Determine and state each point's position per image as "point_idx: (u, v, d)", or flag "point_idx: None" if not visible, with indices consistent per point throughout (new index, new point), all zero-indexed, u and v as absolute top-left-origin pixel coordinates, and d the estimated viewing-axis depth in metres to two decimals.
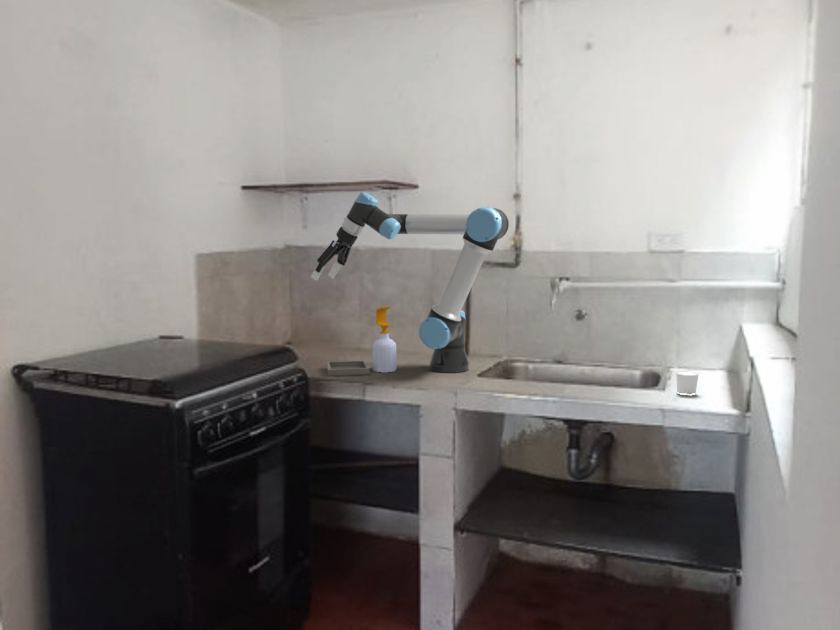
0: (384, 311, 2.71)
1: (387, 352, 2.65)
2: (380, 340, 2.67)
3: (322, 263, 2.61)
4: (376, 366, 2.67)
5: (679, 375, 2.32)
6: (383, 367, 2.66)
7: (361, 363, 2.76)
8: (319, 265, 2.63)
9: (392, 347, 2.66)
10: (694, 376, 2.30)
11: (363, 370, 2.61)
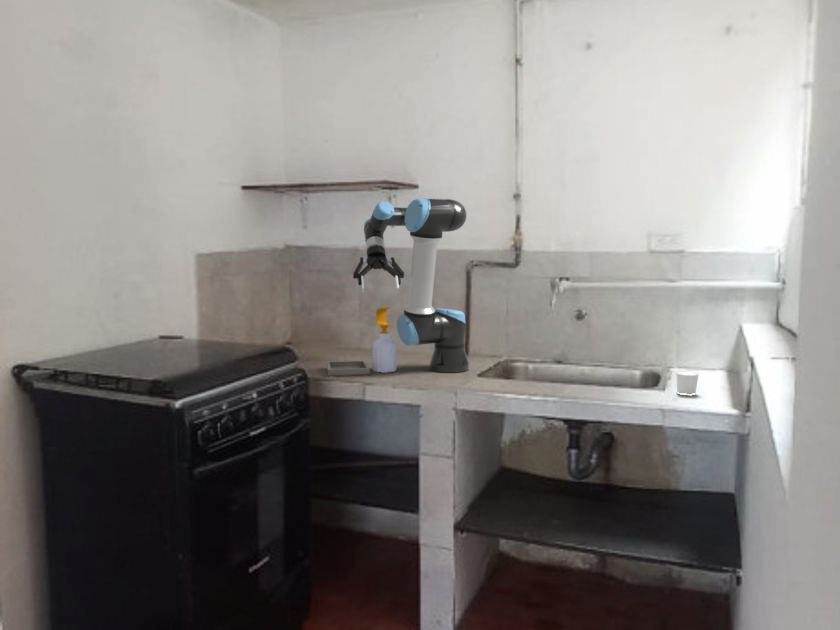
0: (384, 311, 2.71)
1: (387, 352, 2.65)
2: (380, 340, 2.67)
3: (354, 273, 2.79)
4: (376, 366, 2.67)
5: (679, 375, 2.32)
6: (383, 367, 2.66)
7: (361, 363, 2.76)
8: (358, 279, 2.79)
9: (392, 347, 2.66)
10: (694, 376, 2.30)
11: (363, 370, 2.61)
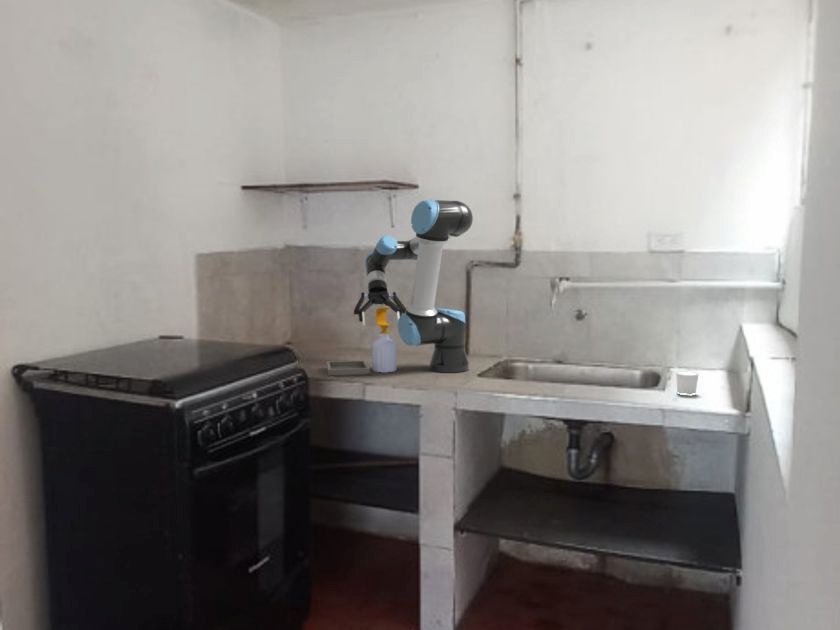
0: (384, 311, 2.71)
1: (387, 352, 2.65)
2: (380, 340, 2.67)
3: (354, 309, 2.74)
4: (376, 366, 2.67)
5: (679, 375, 2.32)
6: (383, 367, 2.66)
7: (361, 363, 2.76)
8: None
9: (392, 347, 2.66)
10: (694, 376, 2.30)
11: (363, 370, 2.61)
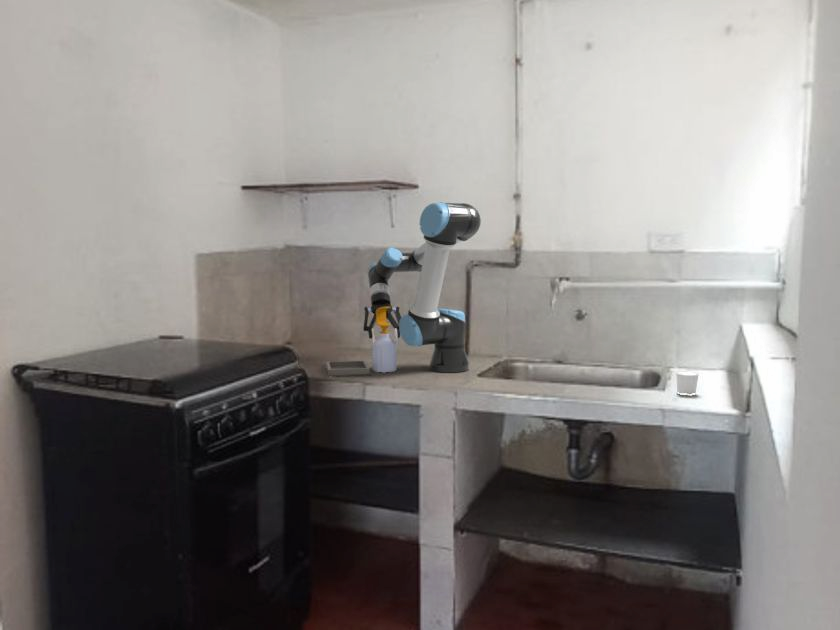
0: (384, 311, 2.71)
1: (387, 352, 2.65)
2: (380, 340, 2.67)
3: (364, 326, 2.68)
4: (376, 366, 2.67)
5: (679, 375, 2.32)
6: (383, 367, 2.66)
7: (361, 363, 2.76)
8: (368, 332, 2.69)
9: (392, 347, 2.66)
10: (694, 376, 2.30)
11: (363, 370, 2.61)
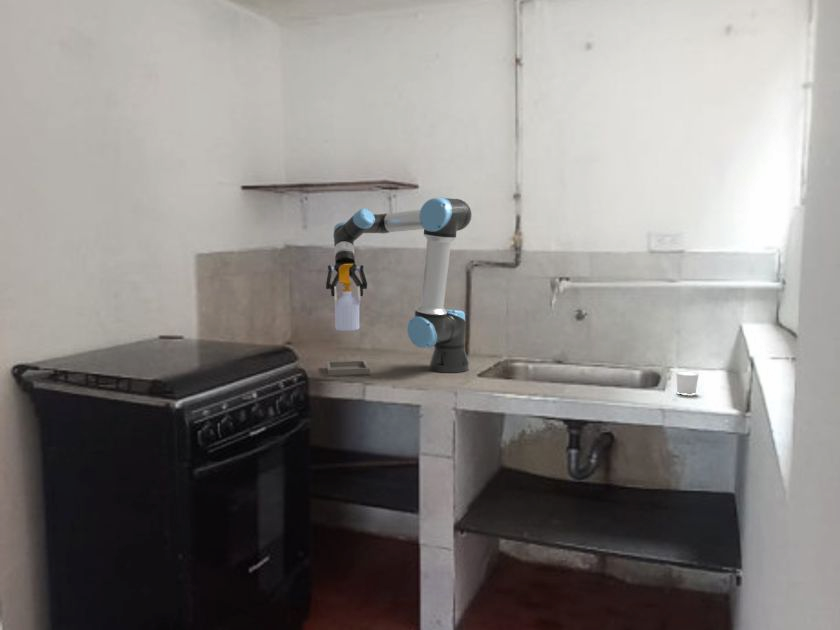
0: (347, 269, 2.66)
1: (349, 310, 2.61)
2: (342, 298, 2.63)
3: (326, 284, 2.64)
4: (338, 324, 2.63)
5: (679, 375, 2.32)
6: (345, 325, 2.62)
7: (361, 363, 2.76)
8: (331, 289, 2.65)
9: (354, 305, 2.62)
10: (694, 376, 2.30)
11: (363, 370, 2.61)
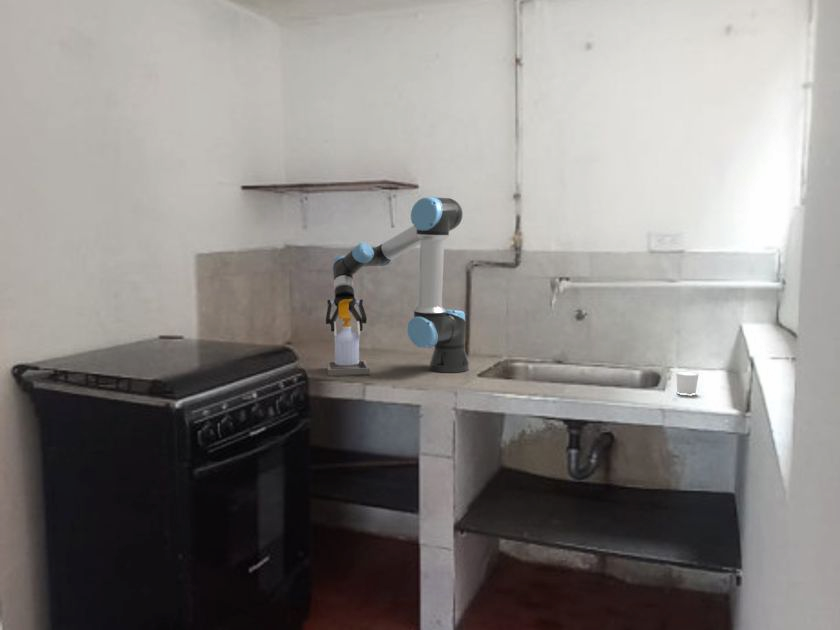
0: (347, 304, 2.68)
1: (349, 345, 2.63)
2: (342, 333, 2.64)
3: (326, 319, 2.66)
4: (338, 359, 2.64)
5: (679, 375, 2.32)
6: (345, 360, 2.63)
7: (361, 363, 2.76)
8: (330, 324, 2.66)
9: (354, 340, 2.64)
10: (694, 376, 2.30)
11: (363, 370, 2.61)
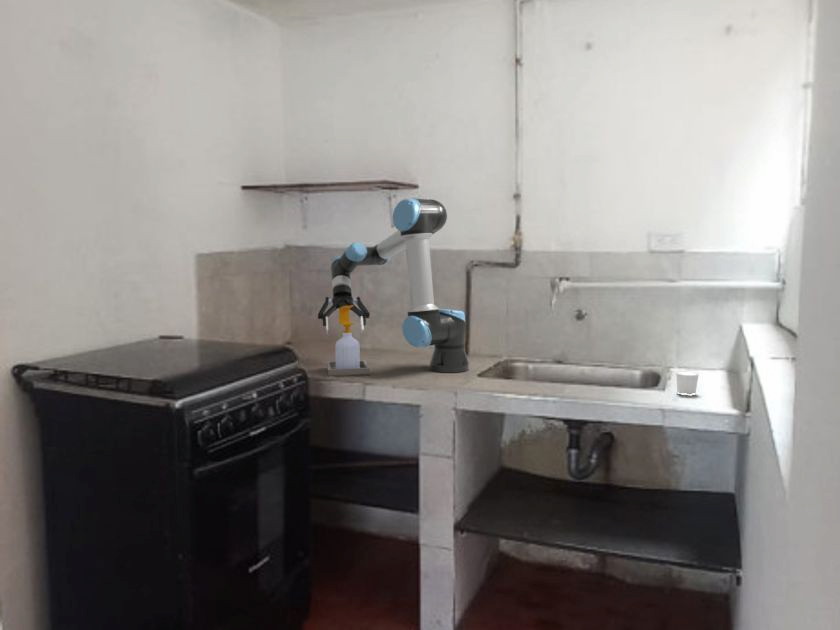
0: (347, 310, 2.68)
1: (349, 351, 2.63)
2: (343, 339, 2.65)
3: (318, 314, 2.77)
4: (339, 365, 2.64)
5: (679, 375, 2.32)
6: (345, 366, 2.63)
7: (361, 363, 2.76)
8: (322, 319, 2.77)
9: (355, 346, 2.64)
10: (694, 376, 2.30)
11: (363, 370, 2.61)
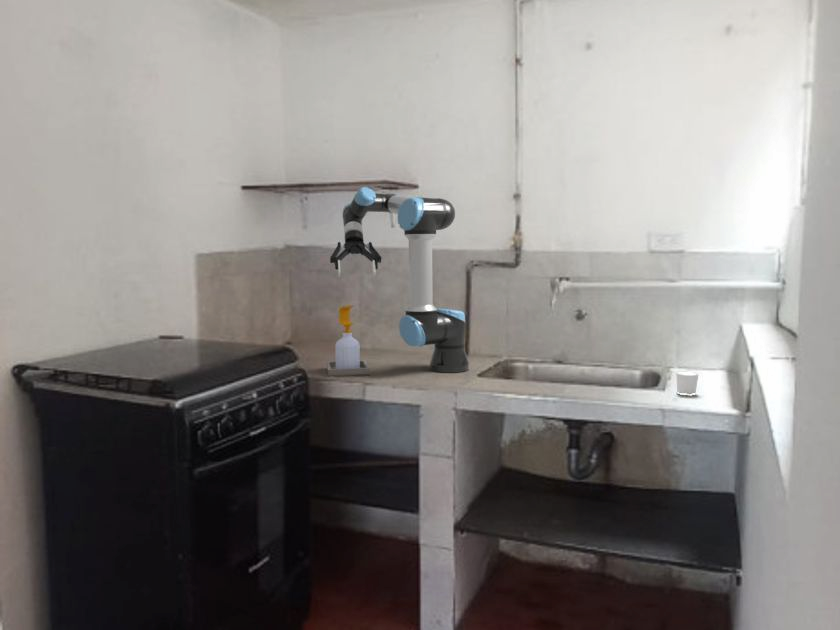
0: (347, 310, 2.68)
1: (349, 351, 2.63)
2: (343, 339, 2.64)
3: (330, 257, 2.79)
4: (339, 365, 2.64)
5: (679, 375, 2.32)
6: (345, 367, 2.63)
7: (361, 363, 2.76)
8: None
9: (355, 346, 2.64)
10: (694, 376, 2.30)
11: (363, 370, 2.61)
